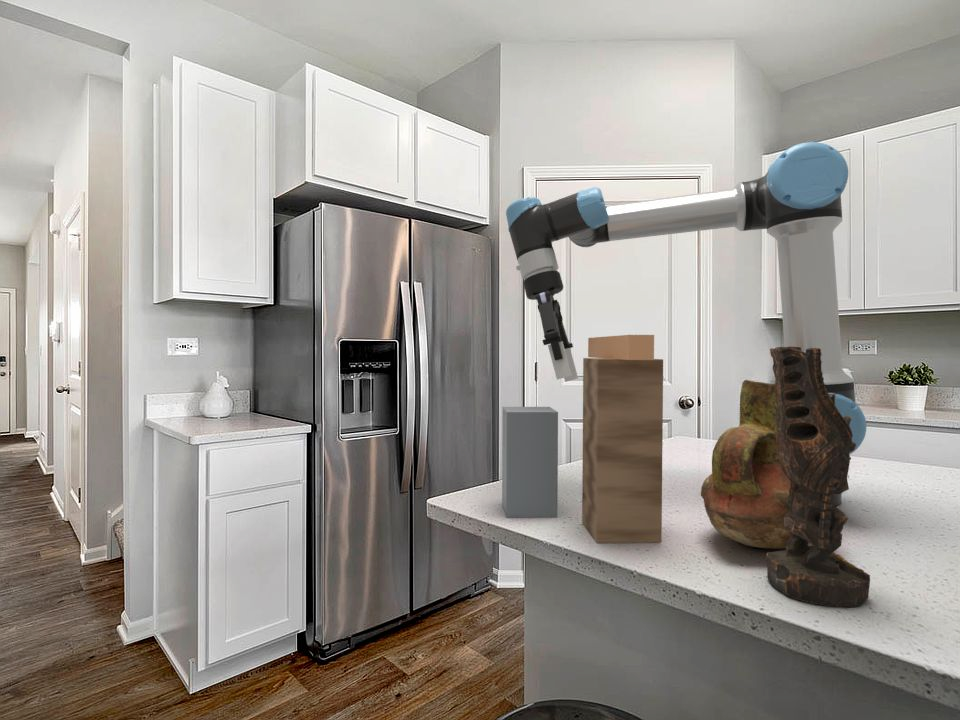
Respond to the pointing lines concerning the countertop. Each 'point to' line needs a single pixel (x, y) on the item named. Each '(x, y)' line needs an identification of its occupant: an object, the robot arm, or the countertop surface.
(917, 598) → the countertop surface
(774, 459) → the ceramic vessel
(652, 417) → the walnut stand
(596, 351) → the bar
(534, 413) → the slate pedestal
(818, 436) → the statue
